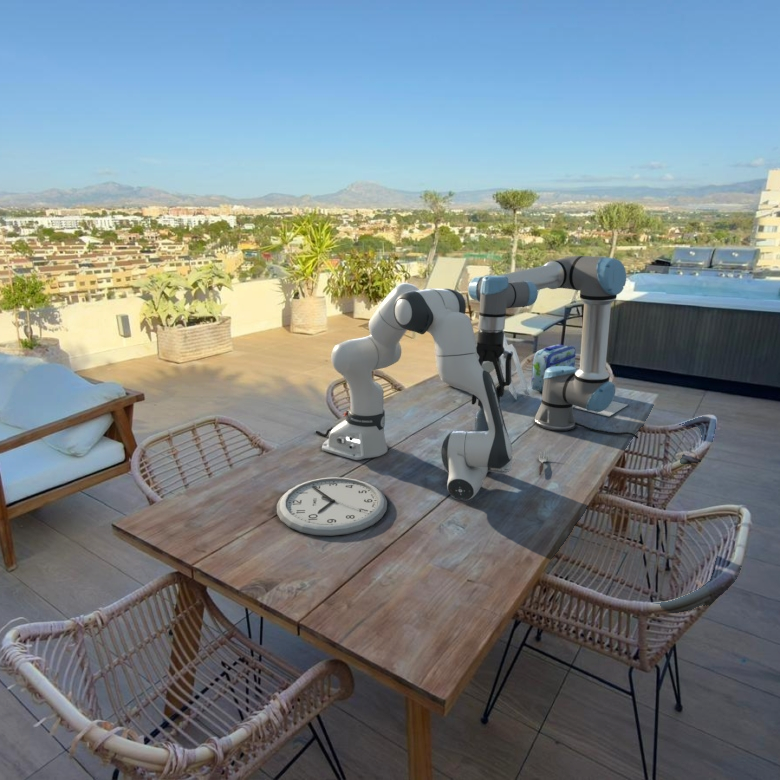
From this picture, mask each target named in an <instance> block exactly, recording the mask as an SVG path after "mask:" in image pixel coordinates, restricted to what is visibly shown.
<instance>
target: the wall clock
mask: <svg viewBox="0 0 780 780" xmlns="http://www.w3.org/2000/svg"><path fill="white" fill-rule="evenodd" d="M387 509H388V500H387V498H386V496H385V494H384V493H383V492H382V491H381V490H380V489H379V488H377V487H376V486H374V485H372V484H371V483H369V482H365V481H362V480H359V479H355V478H349V477H338V476H337V477H335V476H333V477H332V476H331V477H322V478H317V479H312V480H307V481H305V482H302V483H299V484H297V485H295V486H293V487H292V488H290V489H288V490H287V491H286V492H285V493H284V494H283V495H281V496H280V498H279V499H278V502H277V503H276V515H277V517H278V518H279V520H280V521H281V522H282V523H283V524H285V525H286V526H287V527H288V528H290V529H293V530H295V531H297V532H299V533H303V534H308V535H312V536H327V537H328V536H329V537H331V536H332V537H333V536H342V535H350V534H352V533H356V532H361V531H363V530H366V529H368V528H369V527H372V526H373V525H375V524H376V523H378V522H379V521H380V520H381V519H382V518H383V517H384V516H385V514H386V512H387Z"/></svg>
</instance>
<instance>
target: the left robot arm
mask: <svg viewBox="0 0 780 780" xmlns="http://www.w3.org/2000/svg"><path fill="white" fill-rule="evenodd" d="M466 311H467V304H466V300H465V298H464V295H462V293H460V292H459V291H457V290H454V289H451V288H427V289H419V287H418V286H416V285H414V284H412V283H408V282H402V283H399V284H398V285H396V286H395V288H393V289H392V290H391V291H390V292H389V293H388V294H387V295H386V297H384V299H383V300H382V301H381V303H380V305H379V306H378V307H377V309H376V310H375V311H374V313H373V314H372V316H371V317H370V319H369V320H368V331H369V335H367V336H365V337H359V338H352V339H346V340H345V341H342V342H340V343H338V344H336V345H334V347H333V348H332V351H331V354H330V360H331V365H332V367H333V368H334V370H335V371H336V372H337V373H338V374H340V375H341V376H342V377H343V378H344V379H345V381H346V384H347V385H348V390H349V403H350V405H349V407H348V409H346V410H345V412H344V413H343V418H345V419H343V420H342V421H340V422H339V423H338V424H336V425H334V426H331V427H330V428H328V429H327V430H326V431H325V433H322V432H321V431H319V430H316V431H315V433H316V434H318V435H319V436H321V437H328V439H325V441H324V442H323V443H322V445H321V450H322V451H323V452H327V453H328V454H329V453H330V454H333V455H337V456H340V457H343V458H347V459H350V460H353V461H360V460H364V459H372V458H377V457H381V456H383V455H384V454H386V453H387V452H388V450H389V447H388V445H387V441H386V437H385V436H386V434H385V423H386V414H385V413H386V412H385V409H384V405H385V403H384V395H385V394H384V392H385V390H384V388H383V386H382V385H381V384H380V383H379V382H377V381H376V380H374V379H373V371H377V370H381V369H387V368H388V367H390V366H393V365H394V364H396V363H398V362H399V361H400V359H401V357H402V345H401V343H400V341H401V340H402V339H403V337H404V335H405V334H406V333H407V331H410V332H414V333H416V334H419V335H424V334H425V333H429V334H430V335H431V336H432V339H433V341H434V356H435V358H434V359H435V366H436V369H437V370H436V371H437V375H438V376H439V378H440V380H441V379H442V380H443V381H444V382H446V383H447V384H449V385H448V386H451V387H453V388H455V389H458V390H461V391H463V392H467V393H469V394H471V395H472V394H473V395H475V396H476V397H477V398H479V399H480V401H481V402H482V405H483V409H484V413H485V416H486V420H487V424H488V428H489V430H488V431H475V430H452V431H450V432H449V433H448V434H447V435H446V437H445V438H444V440H443V442H442V445H441V450H440V451H441V460H442V465H443V467H444V472H446V473H448V478H447V484H446V488H447V492H448V494H449V495H450V496H451V497H452V498H454V499H456V500H458V501H469V500H472V499H473V498H474V497H476V496H477V494H478V493H479V491H480V489H481V487H482V485H483V482H484V480H485V479H486V477H487V474H488V473H490V472H491V473H496V474H507V473H508V472H510V471H511V470H512V465H513V459H514V458H513V445H512V442H511V440H510V436H509V433H508V430H507V426H506V423H505V420H504V415H503V411H502V408H501V403H499V399H498V395H497V392H496V389H497V387H496V385H495V382H494V379H493V376H492V374H491V372H490V373H489V372H487V371H485V370H484V369H483V368H482V367H481V365H480V363H479V361H478V357H477V349H476V345H477V341H476V336H475V331H474V328H473V323H472V320H471V318H470V317H469V316H468V315H467V314H466ZM442 380H441V381H442ZM443 381H442V382H443ZM444 382H443V383H444ZM488 471H489V472H488Z"/></svg>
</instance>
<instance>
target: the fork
mask: <svg viewBox="0 0 780 780" xmlns="http://www.w3.org/2000/svg"><path fill="white" fill-rule="evenodd" d="M538 461H539V462H540V465H539V467H538V468H539V469H538V470H539V475H541V474H542V472H543V470H544V463H546V462H547V461H548V451H547V452H546V454H544V452H542V451H540V453H539V457H538Z"/></svg>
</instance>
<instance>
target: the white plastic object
mask: <svg viewBox="0 0 780 780" xmlns="http://www.w3.org/2000/svg"><path fill="white" fill-rule="evenodd" d="M502 331H503V332H504V340H503V347H504V350H506V351H508V352H511V351H512V352H513V356H512V358H511V360H513V363H514V366H515V369H516V372H517V376H518V380H519V382H520V385H521V389H522V391H523V393H524V395H525V396H526V397H528V396H531V395H530V390H529V388H528V387H529V386H528V384H527V381H526V378H525V375H524V371H523V369H522V368H523V367H522V366H521V362H520V359H519V355H518V352H517V349H516V347H515V346H514V345H513V343H511V344H508V341H507V337H506V334H505V331H504V330H502ZM477 357H478V360H479V355H478V354H477ZM499 360H500V366H501V368H502V371H503V373H504V376H505V378H506V372H505V361H506V359H505V358H504V354H502V355H501V356H500V357H499ZM481 367H482V368H483V369H484V370H485V371H487V372H489V373H490V374H491V373H492V372H494V371H495V367H494V365H493V362H489V361H484V362H483V364H482V366H481ZM440 381H442V383H443V384H444V385H445V386H450V385H449V384H447V383H446V382H444V381H443V380H442V379H441V378H440ZM508 390H509V393H510V394H511V395H512V397H513V398H514V399H515V400H517V392H516V391H517V390H516V388H515V385H514V381H513V378H512V377H511V383H510V385H509V386H508Z"/></svg>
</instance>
